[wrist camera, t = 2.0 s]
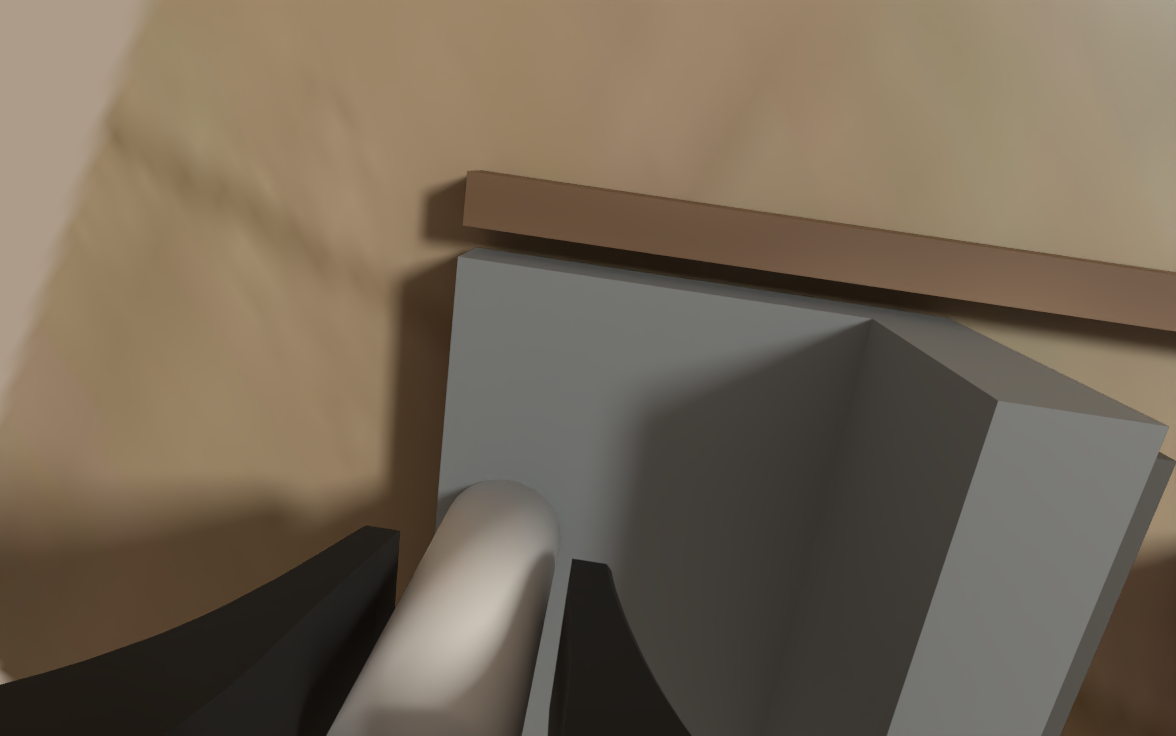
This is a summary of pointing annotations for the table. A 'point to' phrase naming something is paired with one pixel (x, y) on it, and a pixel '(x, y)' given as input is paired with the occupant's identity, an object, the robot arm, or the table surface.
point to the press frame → (822, 249)
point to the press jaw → (760, 512)
